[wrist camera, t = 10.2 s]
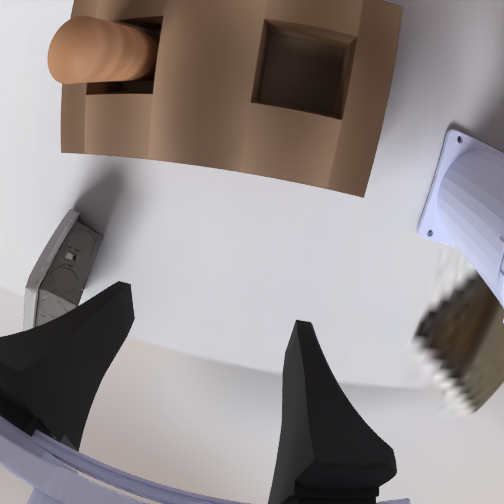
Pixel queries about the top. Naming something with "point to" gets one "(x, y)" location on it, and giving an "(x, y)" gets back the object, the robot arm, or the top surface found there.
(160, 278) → the top surface
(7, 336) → the robot arm
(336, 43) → the socket block
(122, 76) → the peg
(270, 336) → the top surface
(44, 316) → the electrical switch
